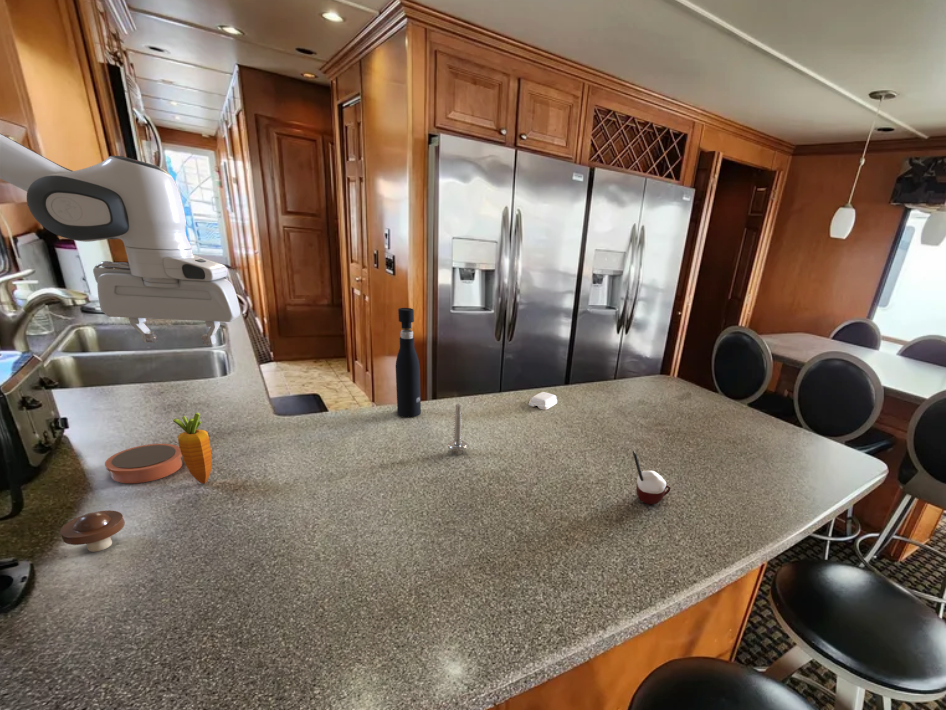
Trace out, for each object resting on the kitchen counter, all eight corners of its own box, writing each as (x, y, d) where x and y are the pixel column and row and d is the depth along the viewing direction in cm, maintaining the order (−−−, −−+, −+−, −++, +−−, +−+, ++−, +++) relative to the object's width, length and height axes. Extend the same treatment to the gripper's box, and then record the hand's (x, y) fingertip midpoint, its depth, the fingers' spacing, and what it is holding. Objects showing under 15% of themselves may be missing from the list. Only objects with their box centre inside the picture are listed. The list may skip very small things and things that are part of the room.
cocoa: (667, 496, 103) (678, 449, 99) (667, 512, 98) (678, 462, 93) (626, 488, 105) (634, 441, 100) (623, 502, 99) (632, 453, 95)
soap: (540, 397, 155) (541, 389, 154) (558, 402, 152) (559, 394, 151) (527, 405, 147) (527, 396, 146) (545, 410, 144) (546, 401, 143)
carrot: (183, 490, 88) (165, 420, 83) (194, 477, 93) (178, 409, 87) (213, 489, 90) (197, 419, 84) (223, 476, 94) (209, 409, 88)
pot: (92, 476, 90) (88, 462, 88) (155, 451, 100) (152, 438, 99) (139, 489, 87) (135, 475, 86) (199, 462, 98) (196, 449, 97)
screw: (462, 458, 111) (444, 454, 112) (470, 450, 115) (452, 446, 116) (463, 408, 106) (444, 405, 107) (471, 402, 110) (453, 398, 111)
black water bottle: (397, 409, 134) (393, 306, 123) (420, 408, 136) (418, 307, 125) (397, 418, 129) (392, 310, 117) (421, 417, 130) (418, 311, 119)
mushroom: (56, 554, 71) (43, 522, 68) (108, 528, 77) (98, 498, 75) (91, 565, 69) (79, 533, 67) (140, 538, 75) (131, 507, 73)
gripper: (76, 261, 74) (101, 345, 79) (221, 271, 79) (235, 349, 84) (103, 258, 80) (124, 336, 85) (236, 267, 84) (248, 341, 90)
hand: (180, 343), depth 84 cm, fingers open, 8 cm apart
